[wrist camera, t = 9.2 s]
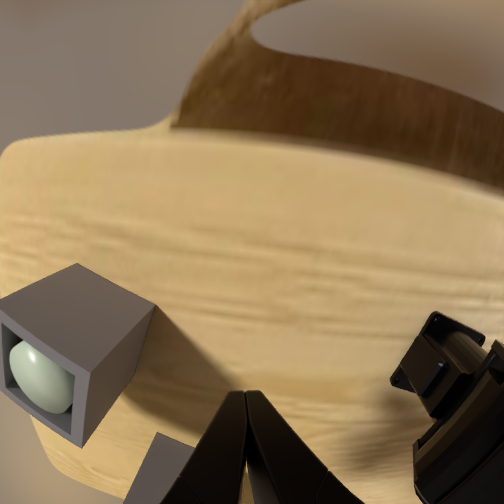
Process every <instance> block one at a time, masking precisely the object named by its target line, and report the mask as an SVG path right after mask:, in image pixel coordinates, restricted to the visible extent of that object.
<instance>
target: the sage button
mask: <svg viewBox="0 0 504 504" xmlns="http://www.w3.org/2000/svg"><path fill="white" fill-rule="evenodd" d="M10 366H11V370H12V373H13V375H14V378H15V380H16V381H17V383H18V385H19V386H20V388H21V389H22V391H23V392H24V393H25V394H26V396H27V397H28V398H29V399H30V400H31V401H32V402H34V403H35V404H36V405H37V406H39V407H40V408H42V409H44V410H45V411H48V412H50V413H54V414H60V413H63V412H65V411H66V410H67V408H68V407H69V406H70V405H71V404H72V403H73V394H74V384H75V376H74V375H73V374H71V373H70V372H68V371H67V370H65V369H64V368H62V367H61V366H59V365H58V364H56V363H55V362H53V361H52V360H50V359H49V358H47V357H46V356H45V355H43V354H42V353H40V352H39V351H38V350H36V349H35V348H33V347H32V346H31V345H29V344H28V343H27V342H25V341H24V340H23V341H22V342H20V343H19V344H18V345H16V346H15V347H14V348H12V350H11V352H10Z"/></svg>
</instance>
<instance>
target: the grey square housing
mask: <svg viewBox="0 0 504 504" xmlns="http://www.w3.org/2000/svg"><path fill="white" fill-rule="evenodd" d="M194 449H195V448H193V447H191V446H188V445H186V444H183V443H181V442H178V441H176V440H174V439H171V438H169V437H167V436H164V435H162V434H160V433H158V432H157V433H156V435H155V437H154V439H153V441H152V444H151V446H150V448H149V450H148V452H147V454H146V456H145V458H144V460H143V462H142V464H141V467H140V469H139V471H138V473H137V475H136V477H135V479H134V481H133V483H132V485H131V488H130V490H129V492H128V494H127V496H126V498H125V500H124V502H123V504H159V503H160V502H161V500H162V499H163V498H164V496H165V495H166V493H167V492H168V490H169V489H170V488H171V486H172V485H173V483H174V481H175V480H176V478H177V477H179V474H180V472H181V471H182V469H183V467H184V466H185V464H186V462H187V461H188V459H189V458H190V456H191V454H192V453H193V451H194Z"/></svg>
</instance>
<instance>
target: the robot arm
mask: <svg viewBox="0 0 504 504" xmlns="http://www.w3.org/2000/svg"><path fill="white" fill-rule="evenodd" d="M435 317H437V319H436V320H435V321H434V319H435ZM480 338H481V339H480ZM479 339H480V340H479ZM484 342H485V336H484V335H483V334H482V333H480V332H478V331H476V330H474V329H472V328H470V327H468V326H466V325H464V324H462V323H460V322H458V321H456V320H454V319H452V318H450V317H448V316H446V315H444V314H442V313H440V312H438V311H435V312H433V313H431V315H430V316H429V318H428V319H427V321H426V323H425V325H424V326H423V328H422V330H421V331H420V333H419V335H418V336H417V337H416V339H415V340H414V342H413V343H412V345H411V347H410V348H409V350H408V351H407V353H406V354H405V356H404V357H403V359H402V360H401V362H400V364H399V366H398V367H397V369H396V370H395V372H394V373H393V374H392V376H391V377H390V383H391V385H392V386H394V387H397V388H400V389H403V390H407V391H410V392H413V393H416V394H417V396H418V397H419V398H420V400H421V401H422V403H423V405H424V407H425V409H426V410H427V412H428V414H429V416H430V417H432V419H433V421H434V424H433V425H432V427H431V428H430V429H429V430H428V431H427V432H426V433H425V434H424V435H423V436H422V437H421V438H420V439H418V440H417V441H416V442H415V443H414V444H413V467H414V488H415V492H416V495H417V496H418V497H419V499H420V500H421V502H422V503H423V504H504V344H502V343H501V342H499V341H498V340H495V341H494V343H493V344H492V346H491V350H490V352H489V353H487V352H485V351H484V350H483V349H482V348H481V347H482V345H483V344H484ZM396 379H398V380H397V381H395V380H396ZM246 461H247V468H248V474H249V478H250V483H251V488H252V492H253V497H254V502H255V504H365V503H364V502H362V501H361V500H360V499H359V498H357V497H356V496H355V495H354V494H353V493H351V492H350V491H349V490H348V489H347V488H346V487H345V486H344V485H343V484H342V483H341V482H340V481H339V480H338V479H337V478H336V477H335V476H334V475H333V474H332V472H331V471H328V468H327V467H326V466H325V465H324V464H323V463H322V462H321V461H320V460H319V459H318V457H317V456H316V455H315V454H314V453H313V452H312V451H311V450H310V448H309V447H308V446H307V445H306V444H305V443H304V442H303V441H302V439H301V438H300V437H299V436H298V435H297V434H296V433H295V431H294V430H293V429H292V428H291V427H290V426H289V424H288V423H287V422H286V421H285V420H284V418H283V417H282V416H281V415H280V414H279V412H278V411H277V410H276V409H275V408H274V406H273V405H272V404H271V403H270V402H269V400H268V399H267V398H266V397H265V395H264V394H263V393H262V392H261V391H260V390H247V391H246V392H244V391H242V390H239V391H229V392H228V393H227V395H226V397H225V399H224V400H223V402H222V404H221V405H220V407H219V409H218V411H217V412H216V414H215V416H214V417H213V419H212V421H211V423H210V424H209V426H208V428H207V429H206V431H205V433H204V434H203V436H202V438H201V439H200V441H199V443H198V444H197V446H196V448H195V449H194V451H193V453H192V454H191V456H190V458H189V459H188V461H187V462H186V464H185V466H184V467H183V469H182V471H181V472H180V474H179V477H177V478H176V480H175V481H174V483H173V485H172V486H171V488H170V489H169V490H168V492H167V493H166V495H165V496H164V498H163V499H162V500H161V502H160V503H159V504H242V502H243V492H244V482H245V471H246Z"/></svg>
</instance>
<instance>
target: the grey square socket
mask: <svg viewBox="0 0 504 504" xmlns="http://www.w3.org/2000/svg"><path fill="white" fill-rule="evenodd" d="M154 308H155V304H153V303H151V302H149V301H147V300H145V299H143V298H141V297H139V296H137V295H135V294H133V293H131V292H130V291H128V290H126V289H124V288H122V287H120V286H118V285H116V284H114V283H112V282H110V281H109V280H107V279H105V278H103V277H101V276H99V275H98V274H96V273H94V272H92V271H90V270H88V269H87V268H85V267H83V266H81V265H80V264H78V263H76V264H74V265H71V266H69V267H67V268H65V269H63V270H60V271H58V272H56V273H54V274H52V275H50V276H47V277H45V278H43V279H41V280H39V281H37V282H35V283H33V284H31V285H29V286H26V287H24V288H22V289H20V290H18V291H16V292H14V293H12V294H10V295H8V296H6V297H4V298H2V299H0V390H1V391H2V392H3V393H4V394H5V395H7V396H8V397H9V398H10V399H11V400H13V401H14V402H15V403H16V404H18V405H19V406H20V407H22V408H23V409H24V410H25V411H27V412H28V413H29V414H31V415H32V416H33V417H35V418H36V419H37V420H39V421H40V422H41V423H43V424H44V425H46V426H47V427H49V428H50V429H51V430H53V431H54V432H56V433H57V434H59V435H60V436H62V437H64V438H65V439H67V440H68V441H70V442H71V443H73V444H75V445H76V446H78V447H80V448H81V449H82V448H83V446H84V445H85V444H86V442H87V441H88V439H89V438H90V436H91V435H92V433H93V432H94V431H95V429H96V428H97V426H98V425H99V424H100V422H101V421H102V419H103V418H104V416H105V415H106V414H107V412H108V411H109V409H110V408H111V407H112V405H113V404H114V402H115V401H116V400H117V398H118V397H119V395H120V394H121V393H122V391H123V390H124V388H125V387H126V386H127V384H128V383H129V381H130V380H131V379H132V377H133V376H134V373H135V370H136V366H137V363H138V360H139V356H140V353H141V349H142V346H143V343H144V339H145V336H146V333H147V330H148V327H149V323H150V320H151V317H152V314H153V311H154ZM23 340H24V341H25V342H27V343H28V344H29V345H31V346H32V347H33V348H35V349H36V350H38V351H39V352H40V353H42V354H43V355H45V356H46V357H47V358H49V359H50V360H52V361H53V362H55V363H56V364H58V365H59V366H61V367H62V368H64V369H65V370H67V371H68V372H70V373H71V374H73V375H74V376H75V384H74V394H73V403H72V404H71V405H70V406H69V407H68V408H67V410H66V411H65V412H63V413H60V414H54V413H50V412H48V411H45V410H44V409H42V408H40V407H39V406H37V405H36V404H35V403H34V402H32V401H31V400H30V399H29V398H28V397H27V396H26V394H25V393H24V392H23V391H22V389H21V388H20V386H19V385H18V383H17V381H16V380H15V378H14V375H13V373H12V370H11V366H10V352H11V350H12V348H14V347H15V346H16V345H18V344H19V343H20V342H22V341H23Z"/></svg>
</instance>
